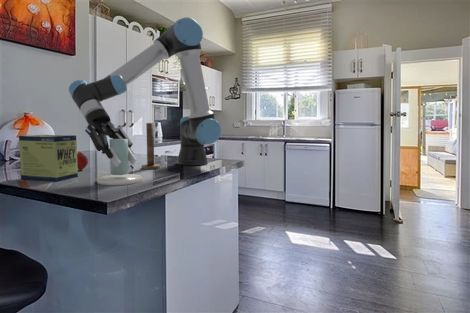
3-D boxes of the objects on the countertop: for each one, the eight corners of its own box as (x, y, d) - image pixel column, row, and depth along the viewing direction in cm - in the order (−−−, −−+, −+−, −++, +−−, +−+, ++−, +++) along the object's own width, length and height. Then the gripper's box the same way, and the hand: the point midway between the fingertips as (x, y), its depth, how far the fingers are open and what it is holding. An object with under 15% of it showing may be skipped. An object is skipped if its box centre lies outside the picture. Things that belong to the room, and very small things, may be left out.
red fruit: (81, 168, 137) (80, 150, 136) (91, 169, 135) (90, 151, 134) (69, 170, 132) (68, 151, 131) (80, 171, 130) (79, 152, 129)
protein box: (57, 181, 108) (55, 136, 106) (20, 179, 112) (17, 135, 110) (79, 176, 118) (77, 135, 116) (44, 174, 122) (42, 134, 120)
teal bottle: (122, 171, 114) (121, 138, 113) (132, 173, 111) (131, 139, 109) (107, 173, 110) (106, 139, 108) (116, 175, 106) (115, 140, 105)
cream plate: (126, 175, 121) (126, 172, 121) (151, 180, 112) (151, 177, 112) (88, 181, 109) (88, 178, 109) (112, 187, 100) (112, 183, 100)
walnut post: (152, 166, 147) (151, 123, 145) (163, 167, 142) (163, 123, 140) (137, 168, 140) (136, 123, 138) (149, 170, 136) (148, 123, 133)
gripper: (113, 122, 124) (143, 167, 117) (66, 122, 109) (96, 174, 102) (122, 108, 121) (152, 154, 114) (74, 106, 105) (106, 158, 98)
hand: (126, 163), depth 108 cm, fingers closed on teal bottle, 6 cm apart
